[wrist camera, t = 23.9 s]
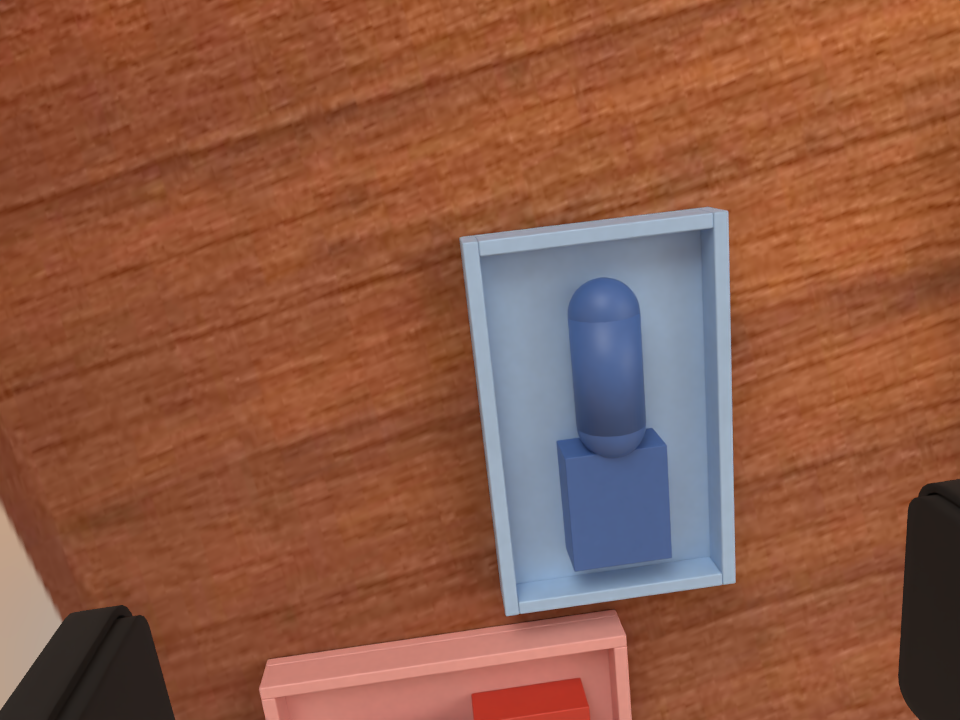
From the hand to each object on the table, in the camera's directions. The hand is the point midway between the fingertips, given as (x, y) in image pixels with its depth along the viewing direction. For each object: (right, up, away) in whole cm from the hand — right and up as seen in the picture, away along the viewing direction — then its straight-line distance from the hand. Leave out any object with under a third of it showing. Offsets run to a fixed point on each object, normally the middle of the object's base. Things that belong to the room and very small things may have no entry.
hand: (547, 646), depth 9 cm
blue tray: (+4, +1, +23) cm, 24 cm away
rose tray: (-2, -14, +27) cm, 31 cm away
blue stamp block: (+4, +1, +23) cm, 23 cm away
